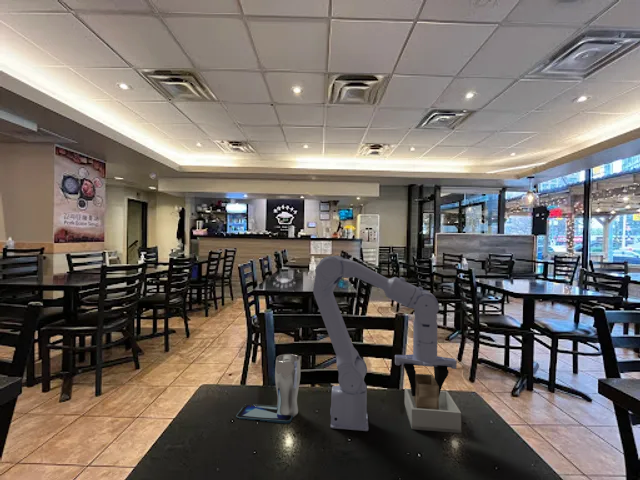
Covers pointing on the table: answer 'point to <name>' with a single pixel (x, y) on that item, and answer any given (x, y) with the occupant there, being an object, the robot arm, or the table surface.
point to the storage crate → (434, 414)
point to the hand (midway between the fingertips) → (424, 395)
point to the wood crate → (426, 392)
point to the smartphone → (262, 414)
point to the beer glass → (287, 384)
